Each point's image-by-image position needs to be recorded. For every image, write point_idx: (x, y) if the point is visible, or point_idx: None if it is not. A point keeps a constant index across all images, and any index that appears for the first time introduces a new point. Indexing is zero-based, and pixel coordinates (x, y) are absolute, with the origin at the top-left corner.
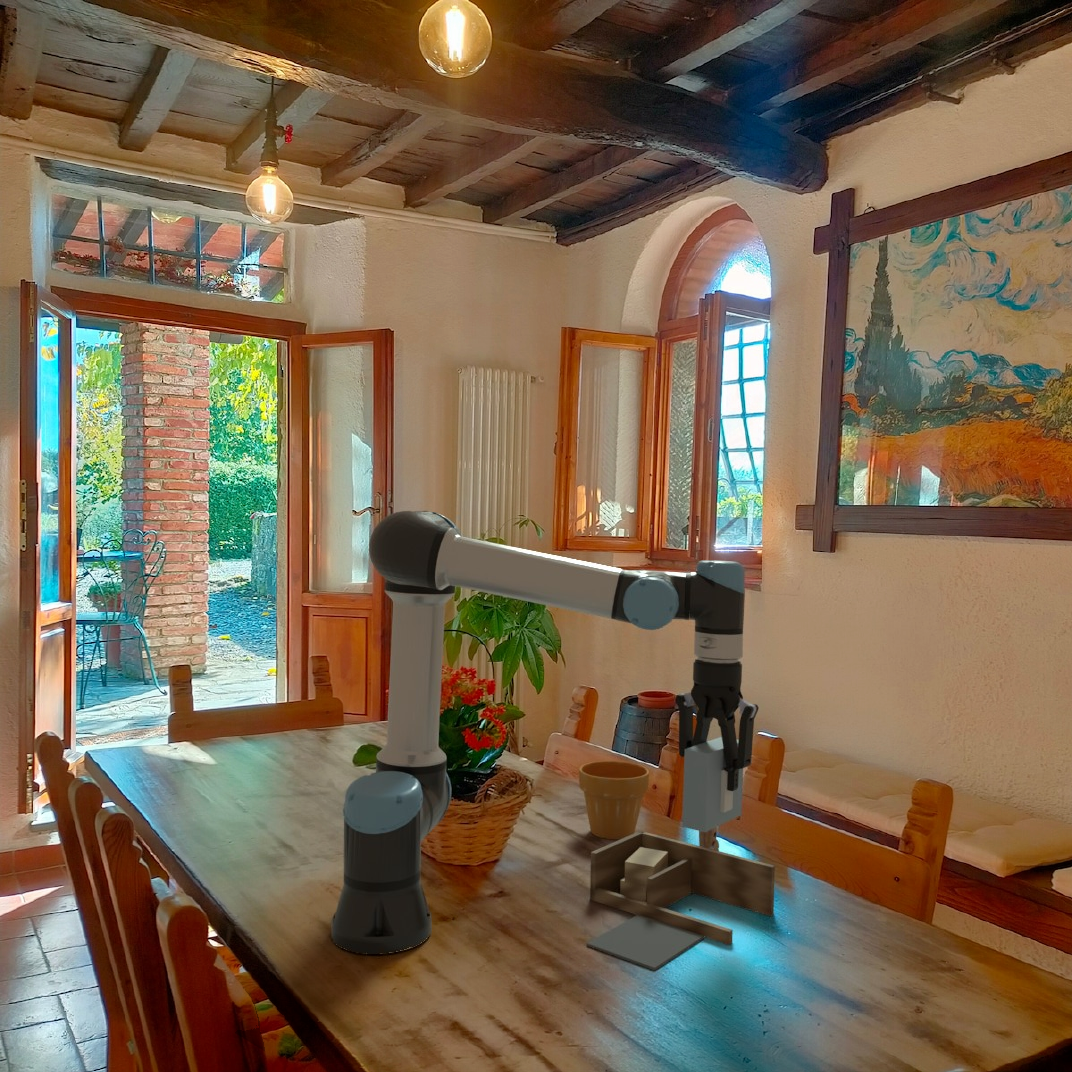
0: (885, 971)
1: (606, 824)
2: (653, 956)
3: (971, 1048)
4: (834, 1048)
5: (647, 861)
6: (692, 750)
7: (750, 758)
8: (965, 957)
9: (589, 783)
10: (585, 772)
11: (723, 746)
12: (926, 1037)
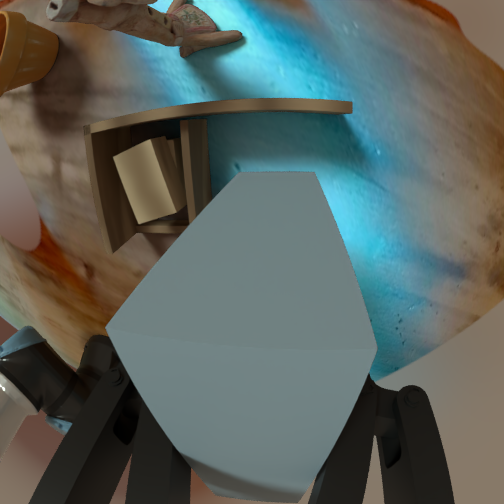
0: (478, 191)
1: (34, 77)
2: None
3: None
4: (445, 330)
5: (156, 200)
6: (241, 498)
7: (429, 418)
8: None
9: None
10: None
11: (313, 490)
12: (496, 282)
